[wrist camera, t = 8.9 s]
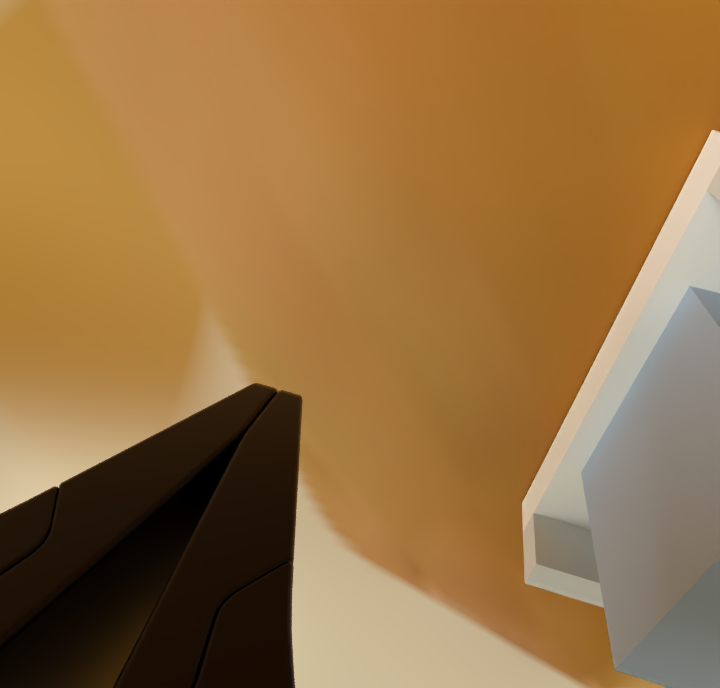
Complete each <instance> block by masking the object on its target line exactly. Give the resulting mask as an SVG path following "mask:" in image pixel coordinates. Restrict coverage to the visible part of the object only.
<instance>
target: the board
mask: <svg viewBox="0 0 720 688" xmlns="http://www.w3.org/2000/svg"><path fill="white" fill-rule="evenodd" d="M689 286H692V287H696V288H700V289H705V290H709V291H713V292H717V293H720V131H717V130H712V131H711V133H710V135H709V137H708V139H707V141H706V143H705V145H704V147H703V149H702V151H701V153H700V155H699V157H698V159H697V161H696V163H695V165H694V167H693V169H692V171H691V172H690V174H689V176H688V178H687V180H686V182H685V184H684V186H683V188H682V190H681V192H680V194H679V196H678V198H677V200H676V202H675V204H674V206H673V208H672V210H671V212H670V214H669V216H668V218H667V220H666V222H665V224H664V225H663V227H662V229H661V231H660V233H659V235H658V237H657V239H656V241H655V243H654V245H653V247H652V249H651V251H650V253H649V255H648V257H647V259H646V261H645V263H644V265H643V267H642V269H641V271H640V273H639V275H638V277H637V278H636V280H635V282H634V284H633V286H632V288H631V290H630V292H629V294H628V296H627V298H626V300H625V302H624V304H623V306H622V308H621V310H620V312H619V314H618V316H617V318H616V320H615V322H614V324H613V326H612V328H611V330H610V331H609V333H608V335H607V337H606V339H605V341H604V343H603V345H602V347H601V349H600V351H599V353H598V355H597V357H596V359H595V361H594V363H593V365H592V367H591V369H590V371H589V373H588V375H587V377H586V379H585V381H584V383H583V385H582V386H581V388H580V390H579V392H578V394H577V396H576V398H575V400H574V402H573V404H572V406H571V408H570V410H569V412H568V414H567V416H566V418H565V420H564V422H563V424H562V426H561V428H560V430H559V432H558V434H557V436H556V438H555V439H554V441H553V443H552V445H551V447H550V449H549V451H548V453H547V455H546V457H545V459H544V461H543V463H542V465H541V467H540V469H539V471H538V473H537V475H536V477H535V479H534V481H533V483H532V485H531V487H530V489H529V491H528V492H527V494H526V496H525V498H524V500H523V502H522V520H523V549H524V577H525V584H529V585H532V586H535V587H538V588H541V589H545V590H548V591H551V592H554V593H557V594H561V595H564V596H567V597H570V598H573V599H577V600H580V601H583V602H586V603H590V604H593V605H596V606H599V607H602V608H604V605H603V599H602V593H601V587H600V581H599V575H598V570H597V564H596V558H595V552H594V546H593V540H592V534H591V528H590V523H589V517H588V511H587V505H586V499H585V493H584V487H583V482H582V476H581V472H582V470H583V468H584V466H585V465H586V463H587V461H588V460H589V458H590V456H591V454H592V453H593V451H594V449H595V448H596V446H597V444H598V442H599V441H600V439H601V437H602V436H603V434H604V432H605V430H606V429H607V427H608V425H609V424H610V422H611V420H612V418H613V417H614V415H615V413H616V411H617V410H618V408H619V406H620V405H621V403H622V401H623V399H624V398H625V396H626V394H627V393H628V391H629V389H630V387H631V386H632V384H633V382H634V381H635V379H636V377H637V375H638V374H639V372H640V370H641V369H642V367H643V365H644V363H645V362H646V360H647V358H648V357H649V355H650V353H651V351H652V350H653V348H654V346H655V345H656V343H657V341H658V339H659V338H660V336H661V334H662V333H663V331H664V329H665V327H666V326H667V324H668V322H669V321H670V319H671V317H672V315H673V314H674V312H675V310H676V308H677V307H678V305H679V303H680V302H681V300H682V298H683V296H684V295H685V293H686V291H687V290H688V288H689Z"/></svg>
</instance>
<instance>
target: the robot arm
mask: <svg viewBox="0 0 720 688" xmlns="http://www.w3.org/2000/svg"><path fill="white" fill-rule="evenodd" d="M301 417H302V397H301V396H300V395H297V394H294V393H290V392H287V391H283V390H281V391H277V389H275V388H273V387H269V386H266V385H262V384H259V383H254V384H251V385H249V386H247V387H245V388H244V389H242V390H240V391H238V392H236V393H234V394H232V395H230V396H228V397H226V398H224V399H222V400H221V401H218V402H217V403H215V404H213V405H211V406H209V407H207V408H205V409H203V410H201V411H199V412H197V413H195V414H193V415H191V416H190V417H188V418H186V419H184V420H182V421H180V422H178V423H176V424H174V425H172V426H170V427H169V428H167V429H164V430H163V431H161V432H159V433H157V434H155V435H153V436H151V437H149V438H147V439H145V440H143V441H141V442H140V443H138V444H136V445H134V446H132V447H130V448H128V449H126V450H124V451H122V452H120V453H118V454H116V455H114V456H112V457H111V458H109V459H107V460H105V461H103V462H101V463H99V464H97V465H96V466H93V467H91V468H89V469H87V470H85V471H84V472H82V473H80V474H78V475H76V476H74V477H72V478H70V479H68V480H66V481H64V482H62V483H61V484H60V486H59V488H58V487H52V488H51V489H48V490H47V491H45V492H43V493H41V494H39V495H37V496H35V497H33V498H31V499H29V500H28V501H25V502H23V503H21V504H19V505H17V506H15V507H13V508H11V509H9V510H7V511H5V512H3V513H1V514H0V688H295V682H294V667H293V649H292V630H291V628H292V627H291V626H292V583H293V559H294V542H295V525H296V506H297V489H298V471H299V453H300V435H301Z"/></svg>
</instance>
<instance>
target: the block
mask: <svg viewBox="0 0 720 688" xmlns="http://www.w3.org/2000/svg"><path fill="white" fill-rule="evenodd" d="M581 476H582V482H583V487H584V493H585V499H586V505H587V511H588V517H589V523H590V528H591V534H592V540H593V546H594V552H595V558H596V564H597V570H598V575H599V581H600V587H601V593H602V599H603V605H604V611H605V616H606V622H607V628H608V634H609V640H610V646H611V652H612V658H613V663H614V669H615V670H616V671H619V672H622V673H625V674H628V675H631V676H634V677H637V678H641V679H644V680H647V681H650V682H653V683H656V684H659V685H662V686H665V687H668V688H720V293H717V292H713V291H709V290H705V289H700V288H696V287H692V286H689V288H688V290H687V291H686V293H685V295H684V296H683V298H682V300H681V302H680V303H679V305H678V307H677V308H676V310H675V312H674V314H673V315H672V317H671V319H670V321H669V322H668V324H667V326H666V327H665V329H664V331H663V333H662V334H661V336H660V338H659V339H658V341H657V343H656V345H655V346H654V348H653V350H652V351H651V353H650V355H649V357H648V358H647V360H646V362H645V363H644V365H643V367H642V369H641V370H640V372H639V374H638V375H637V377H636V379H635V381H634V382H633V384H632V386H631V387H630V389H629V391H628V393H627V394H626V396H625V398H624V399H623V401H622V403H621V405H620V406H619V408H618V410H617V411H616V413H615V415H614V417H613V418H612V420H611V422H610V424H609V425H608V427H607V429H606V430H605V432H604V434H603V436H602V437H601V439H600V441H599V442H598V444H597V446H596V448H595V449H594V451H593V453H592V454H591V456H590V458H589V460H588V461H587V463H586V465H585V466H584V468H583V470H582V472H581Z"/></svg>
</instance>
